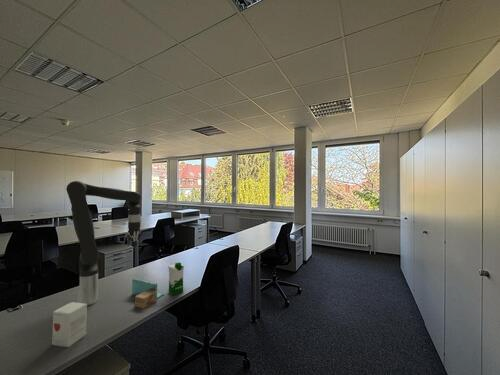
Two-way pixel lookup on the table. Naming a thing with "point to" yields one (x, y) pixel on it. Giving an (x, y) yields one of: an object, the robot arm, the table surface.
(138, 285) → the bookend
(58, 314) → the supplement box
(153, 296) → the block
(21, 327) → the table surface
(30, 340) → the table surface
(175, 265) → the milk carton
